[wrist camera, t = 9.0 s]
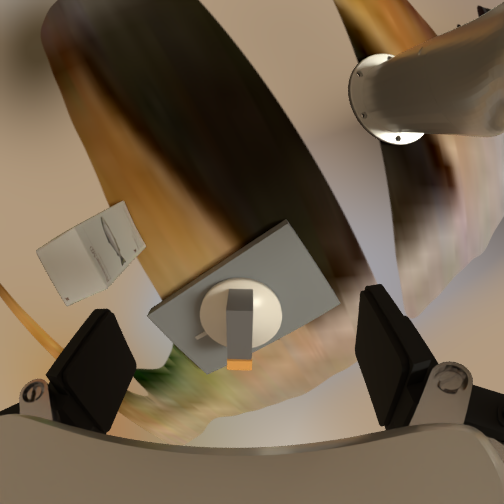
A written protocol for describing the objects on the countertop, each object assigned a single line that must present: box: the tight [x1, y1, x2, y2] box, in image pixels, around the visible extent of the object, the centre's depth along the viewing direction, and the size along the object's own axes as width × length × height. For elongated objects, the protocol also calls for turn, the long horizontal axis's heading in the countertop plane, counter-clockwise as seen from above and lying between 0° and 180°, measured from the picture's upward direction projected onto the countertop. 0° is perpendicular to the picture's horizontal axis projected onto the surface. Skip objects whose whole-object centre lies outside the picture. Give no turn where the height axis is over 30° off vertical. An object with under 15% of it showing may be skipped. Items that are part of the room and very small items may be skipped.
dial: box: [200, 278, 282, 370], centre depth 35 cm, size 11×11×6 cm
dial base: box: [147, 219, 340, 374], centre depth 40 cm, size 24×14×2 cm, turn 125°
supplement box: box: [36, 201, 146, 306], centre depth 31 cm, size 7×7×13 cm
